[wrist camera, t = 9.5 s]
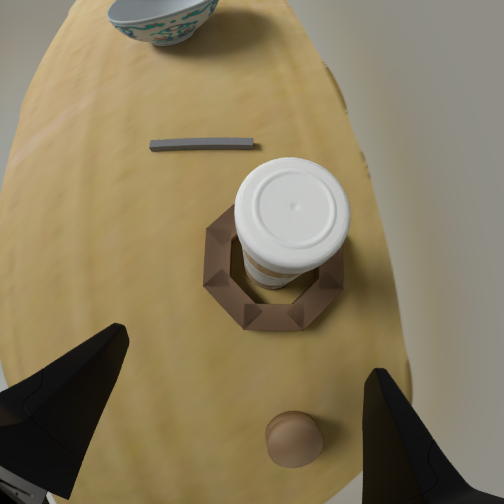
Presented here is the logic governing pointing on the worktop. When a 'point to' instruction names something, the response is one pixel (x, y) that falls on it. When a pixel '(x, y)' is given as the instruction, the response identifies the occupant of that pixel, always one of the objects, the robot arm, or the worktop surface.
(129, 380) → the worktop surface
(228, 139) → the grey rectangular bar
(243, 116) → the worktop surface
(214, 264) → the walnut ring
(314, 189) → the sprinkles bottle
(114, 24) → the chinaware
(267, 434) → the small wooden bead
